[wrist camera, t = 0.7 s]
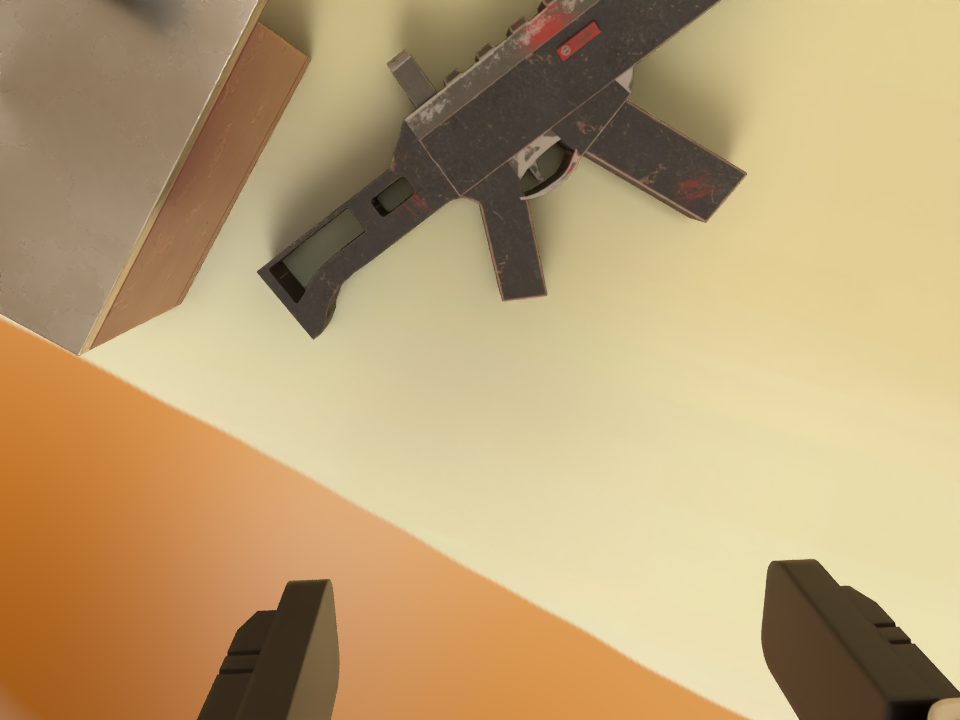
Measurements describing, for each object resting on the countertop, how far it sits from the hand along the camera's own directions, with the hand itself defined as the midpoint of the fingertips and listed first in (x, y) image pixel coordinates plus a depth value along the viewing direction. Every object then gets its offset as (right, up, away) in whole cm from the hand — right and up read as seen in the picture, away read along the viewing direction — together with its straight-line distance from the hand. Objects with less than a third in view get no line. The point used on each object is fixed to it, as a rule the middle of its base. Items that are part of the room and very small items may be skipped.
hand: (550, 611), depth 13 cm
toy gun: (+3, +16, +24) cm, 29 cm away
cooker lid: (-18, +14, +13) cm, 27 cm away
